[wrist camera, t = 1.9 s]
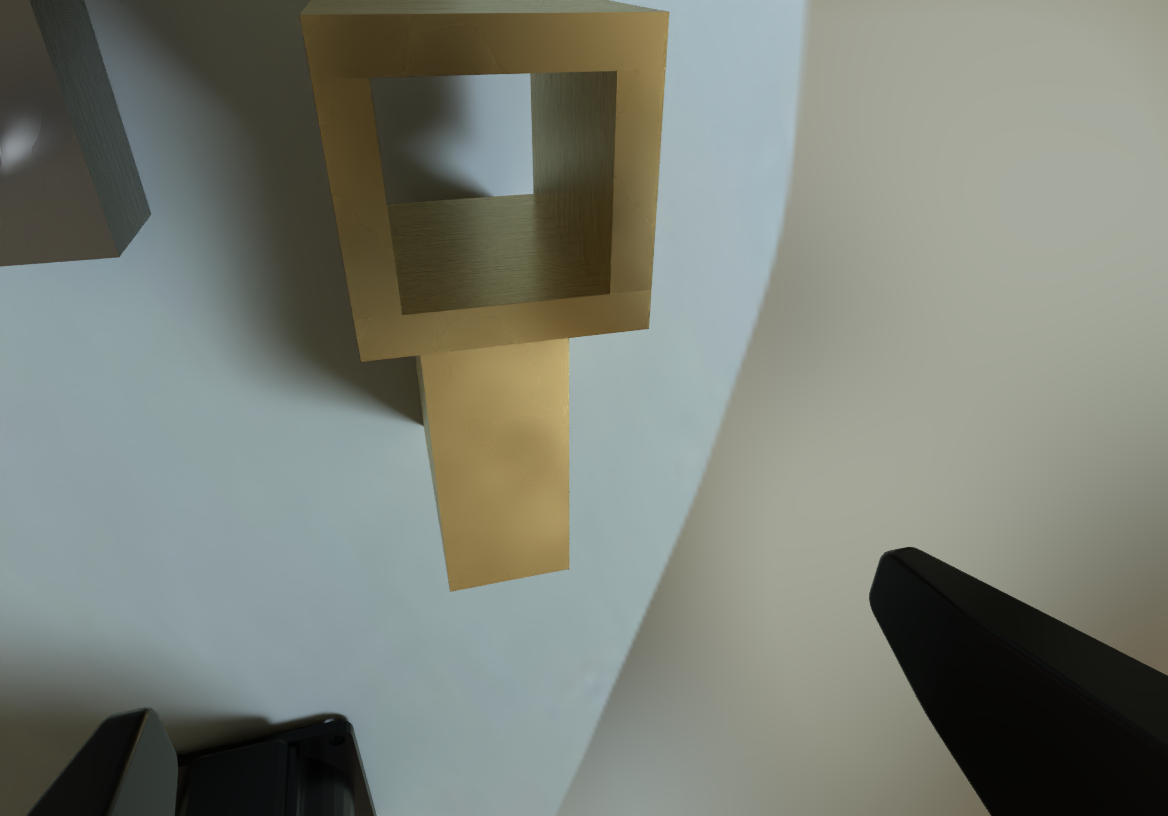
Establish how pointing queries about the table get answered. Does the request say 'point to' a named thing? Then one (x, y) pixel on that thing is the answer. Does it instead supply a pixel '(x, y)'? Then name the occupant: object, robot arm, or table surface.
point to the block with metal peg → (61, 141)
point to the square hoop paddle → (498, 245)
